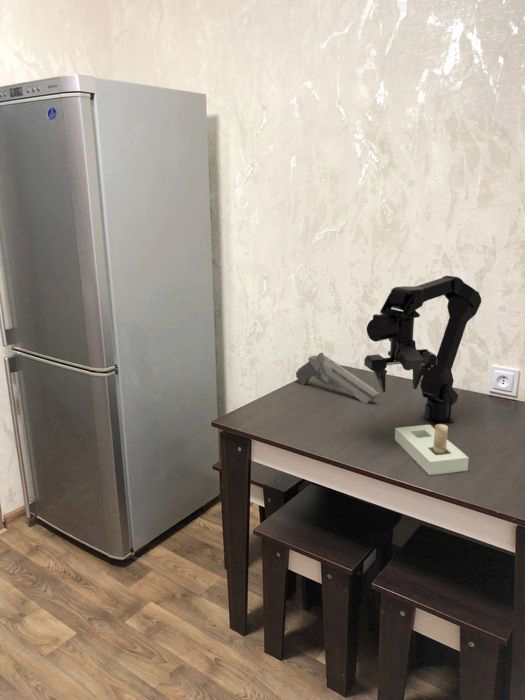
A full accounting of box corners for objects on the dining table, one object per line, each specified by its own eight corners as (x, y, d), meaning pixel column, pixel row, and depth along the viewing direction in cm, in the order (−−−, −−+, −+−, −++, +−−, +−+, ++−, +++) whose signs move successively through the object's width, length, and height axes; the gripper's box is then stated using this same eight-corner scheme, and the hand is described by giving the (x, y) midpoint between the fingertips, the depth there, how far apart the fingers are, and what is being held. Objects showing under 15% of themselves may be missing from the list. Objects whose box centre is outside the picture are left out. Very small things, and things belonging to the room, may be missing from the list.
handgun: (366, 426, 185) (381, 390, 178) (360, 429, 183) (376, 393, 176) (297, 376, 202) (309, 341, 194) (292, 379, 200) (303, 343, 192)
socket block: (394, 439, 154) (395, 428, 153) (428, 436, 156) (429, 424, 155) (429, 475, 135) (430, 462, 134) (467, 470, 137) (468, 457, 136)
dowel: (441, 460, 142) (444, 423, 139) (447, 465, 139) (450, 428, 136) (430, 461, 142) (432, 424, 139) (435, 466, 139) (438, 429, 136)
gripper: (381, 346, 140) (379, 404, 144) (450, 340, 144) (445, 397, 148) (364, 334, 150) (362, 389, 155) (428, 329, 154) (425, 383, 159)
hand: (399, 390), depth 154 cm, fingers open, 9 cm apart
